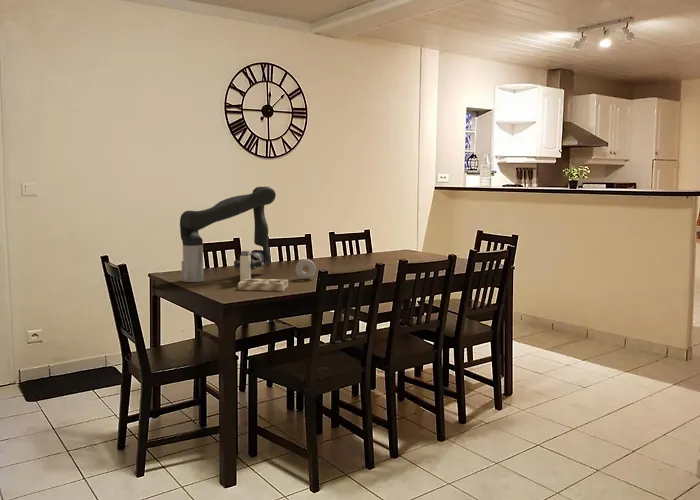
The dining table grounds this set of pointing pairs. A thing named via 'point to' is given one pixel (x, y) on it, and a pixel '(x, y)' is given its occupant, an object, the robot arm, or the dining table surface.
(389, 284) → the dining table surface
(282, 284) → the socket board
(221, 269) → the dining table surface
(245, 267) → the plug
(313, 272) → the donut
